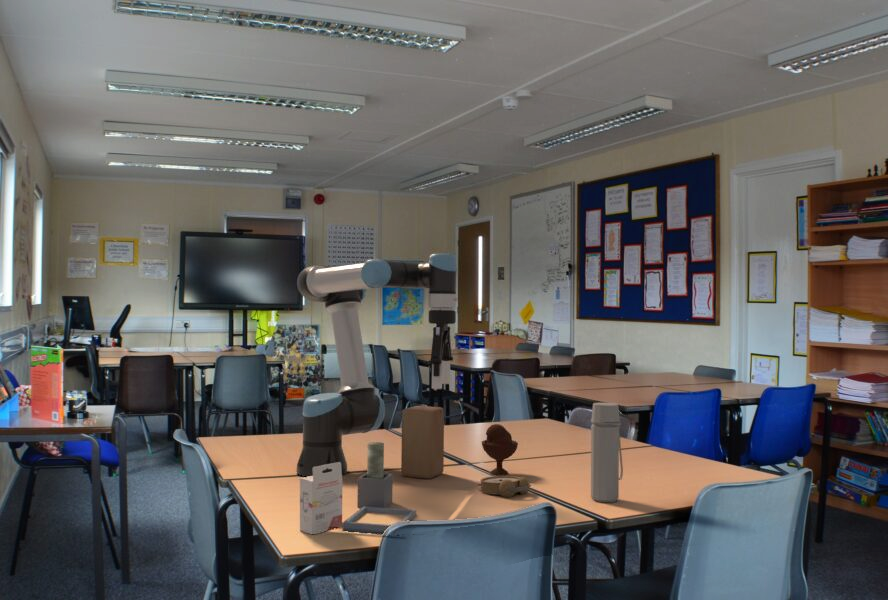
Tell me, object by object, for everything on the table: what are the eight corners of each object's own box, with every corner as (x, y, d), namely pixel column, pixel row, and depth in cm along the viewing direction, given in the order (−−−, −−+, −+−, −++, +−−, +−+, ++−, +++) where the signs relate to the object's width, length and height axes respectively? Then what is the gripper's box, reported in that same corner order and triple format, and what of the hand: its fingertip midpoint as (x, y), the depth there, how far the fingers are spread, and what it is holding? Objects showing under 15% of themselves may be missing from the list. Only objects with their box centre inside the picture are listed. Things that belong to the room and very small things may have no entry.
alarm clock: (500, 474, 209) (539, 474, 197) (502, 492, 208) (541, 492, 197) (471, 480, 201) (509, 479, 190) (473, 498, 201) (511, 499, 189)
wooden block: (444, 473, 222) (445, 407, 222) (430, 480, 213) (431, 410, 213) (415, 470, 226) (416, 405, 227) (399, 476, 217) (400, 408, 218)
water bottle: (601, 504, 187) (602, 406, 187) (584, 497, 194) (584, 402, 195) (631, 501, 191) (631, 404, 191) (612, 494, 198) (613, 401, 198)
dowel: (364, 506, 180) (365, 444, 180) (369, 502, 183) (370, 441, 184) (380, 507, 179) (381, 445, 179) (385, 503, 183) (385, 442, 183)
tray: (342, 531, 162) (342, 522, 162) (363, 514, 175) (363, 506, 175) (399, 536, 159) (399, 526, 159) (416, 518, 173) (416, 510, 173)
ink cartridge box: (328, 522, 168) (329, 458, 169) (342, 527, 165) (343, 461, 165) (298, 530, 162) (299, 463, 162) (312, 535, 159) (313, 467, 159)
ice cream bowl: (515, 478, 216) (516, 427, 217) (478, 476, 219) (479, 425, 219) (519, 470, 227) (519, 422, 227) (483, 468, 229) (484, 420, 229)
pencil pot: (357, 511, 178) (357, 478, 179) (366, 504, 185) (366, 472, 185) (384, 513, 177) (384, 479, 177) (392, 506, 184) (392, 473, 184)
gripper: (448, 309, 191) (447, 391, 191) (461, 309, 216) (460, 382, 215) (420, 309, 192) (418, 390, 192) (436, 309, 217) (435, 381, 216)
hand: (441, 386), depth 204 cm, fingers open, 13 cm apart
